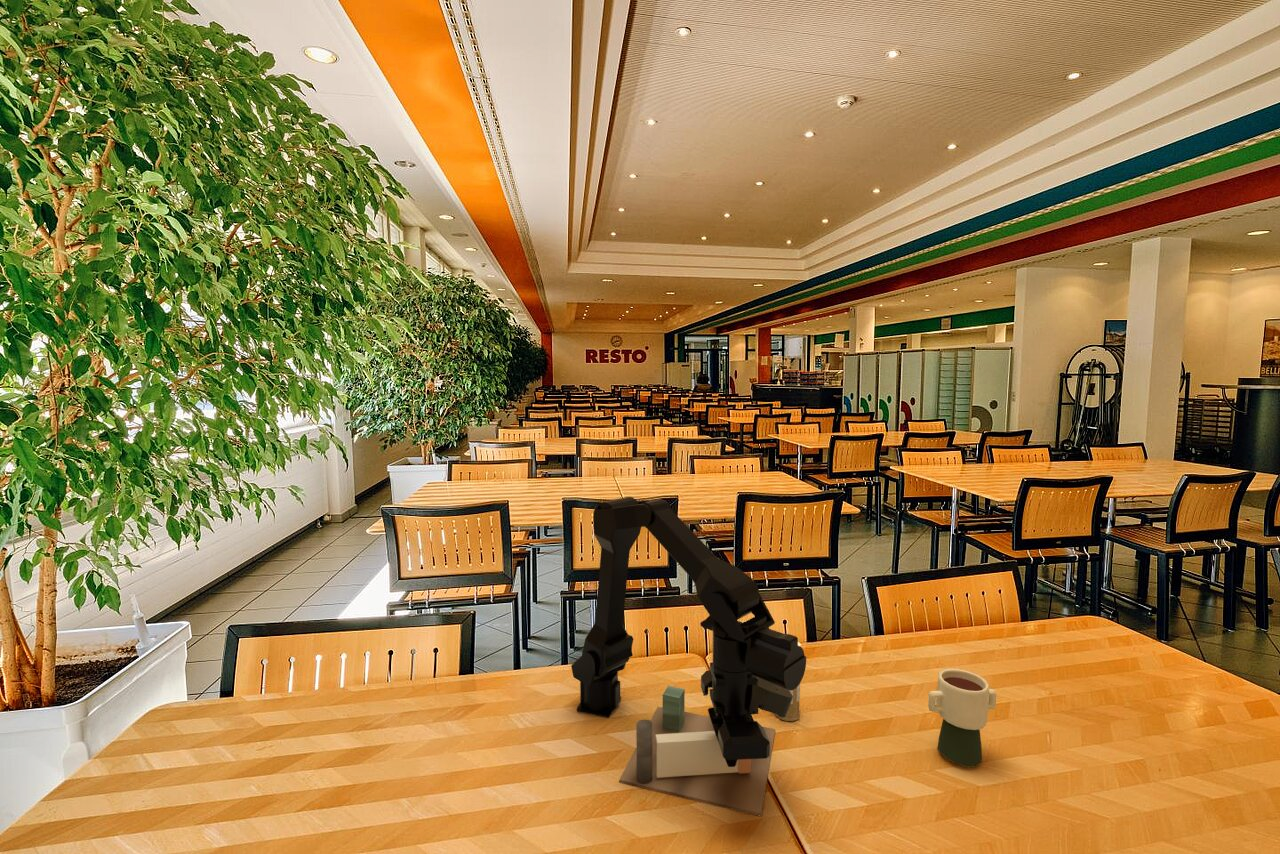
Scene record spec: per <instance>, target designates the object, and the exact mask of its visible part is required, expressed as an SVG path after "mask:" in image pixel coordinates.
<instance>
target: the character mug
mask: <svg viewBox="0 0 1280 854" xmlns="http://www.w3.org/2000/svg"><path fill="white" fill-rule="evenodd" d="M996 705H997V692H996V689H993V688H990V684H989V682H988V681H987V680H986V679H985V678H983V677H982V676H980V675H978V674H976V673H974V672H971V671H968V670H964V669H961V668H945V669H942V670H941V671H939V672H938V678H937V686H936V690H931V691H929V693H928V704H927V706H928V710H929V712H930V711H931V712H935V713H938V714H939V716H940V718H942V723H941V727H940V729H939V730H940V731H939V736H938V742H937V748H936V749H937V751H938V752H939V753H940V754H941V755H942V756H944V758H946V759H947V760H949V761H951V762H953V763H955V764H957V765H960V766H962V767H963V766H964V767H966V768H969V767H970V768H972V767H977V766H979V765H980V764H982V760H983V749H982V739H981V730H982V729H984V728H985V727H986V726H987V724H988V719H989V718H988V717H989V716H988V715H989V710H990V711H991V710H995V708H996V707H997V706H996Z"/></svg>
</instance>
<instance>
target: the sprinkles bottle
mask: <svg viewBox="0 0 1280 854" xmlns="http://www.w3.org/2000/svg"><path fill="white" fill-rule="evenodd" d="M798 646H800V647H802V644H801V643H800V642H799V641H798ZM789 691H790V692H791V694H792V696H793V698H792V701H791V704H790V706H789V709H788V711H787V714H786V717H784V718H782V717H779V716H778V715H777V714H774V716H775V717H776V718H778V719H780V720H781V721H785V722H794V721H797V720H798V719H799V718H800V716H801V713H800V699H801V683H800V684H799V685H798V687H797V688H796V689H794V690H789Z"/></svg>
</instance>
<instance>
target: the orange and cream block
mask: <svg viewBox="0 0 1280 854" xmlns="http://www.w3.org/2000/svg"><path fill="white" fill-rule="evenodd" d="M734 772H739V773H751V759H740V760H737V763H736V766H735V767H728V765H727V763H726V760H725V758H723V755H722V752H721V749H720V746H719V742H718V740H717V737H716V735H715V732H714V731H705V732H688V733H672V734H656V776H657V778H661V777H675V776H690V775H704V774H719V773H734Z"/></svg>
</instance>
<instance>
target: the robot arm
mask: <svg viewBox="0 0 1280 854" xmlns="http://www.w3.org/2000/svg"><path fill="white" fill-rule="evenodd" d="M592 518H593V519H592V521H593V522H592V523H593V535H594V537H595V539H596V541H597V542H598V544H599V546H600V561H599V573H598V584H597V594H596V595H597V596H596V597H597V598H596V607H595V617H594V618H595V620H594V623H593V625H592V627H591V629H590V630H589V631H588V633H587V634H586V636H585V638H584V643H583V648H582V652H581V653H582V654H581V656H580V657H578V659H576V660H575V662H573V663H572V664H571V666H570V667H571V671H572V675H573V678H574V679H576V680H577V681H579V682H580V684H579V687H580V689H579V690H580V693H579V695H580V697H579V698H580V701H579V702H580V703H579V704H578V706H577V707H576V711H577V712H579V713H583V714H588V715H593V716H598V717H604V718H610V717H611V716H612V714H613V713H614V711H615V710H616V709H617V708H618V706H619V704H620V703H621V700H622V696H621V681H620V680H619V676H618V675H619V672H620V671H623V670H625V667H626V664H627V663H628V662H629V660H630V658H632V657H633V656H634V655H633V643H634V637H633V635H630V634H629V633H628V632H627V629H626V628H625V626H624V617H625V616H624V615H625V614H624V613H625V605H626V604H625V603H626V593H627V585H628V584H627V582H628V574H629V572H628V570H629V563H630V562H629V561H630V552H631V549H632V547H633V545H634V544H635V542H636V541H637V540H638V539H639V538H638V537H639V536H640V533H641V530H642V527H643V528H646V529H647V530H648V531H649V533H651V535H652V536H653V537H654V538H655V539H656V541H657V542H658V543H659V544H660V545H661V546H662V547H663V548H664V549H665V550H666V552H667V553H668V554H669V555H670V556H671V557H672V558H673V559H674V561H675V562H676V563H677V564H678V566H680V567H681V568H682V569H683V571H684V573H686V574H687V575H688V576H689V577H690V578H691V580H692V582H693V583H694V585H695V591H696V596H697V598H698V600H699V601H700V603H701V605H702V606H703V608H704V609H705V610H706V612H707V614H708V616H707V617H706V618H705V619H704V620H702V621H700V623H699V624H700V627H701V628H704V629H707V630H709V631H712V662H709V670H706V671H704V672H703V673H702V674H701V676H700V688H701V691H702V694H703V695H702V696H706V697H707V696H708V695H709V698H710V701H711V705H712V707H708V708H707V713H708V716H710V719H711V722H712V725H713V729H714V732H715V735H716V737H717V740H718V742H719V746H720V749H721V752H722V755H723V758H725V760H726V763H727V765H728V767H735V766H736V763H737V760H740V759H764V758H768V757H769V756H770V742H769V739H768V737H767V735H766V733H765V731H764V728H763V727H764V726H762V725H761V724H760V723H759V722H758V721H757V720H754V717H753V715H759V710H762V711H763V712H764V711H765V712H767V713H771V714H774V715H775V714H777V715H778V716H779V717H782V718H784V717H786V714H787V711H788V709H789V706H790V704H791V701H792V698H793V696H792V694H791V692H790V691H789V690H794V689H796V688H797V687H798V685H799V684H800V685H801V682H802V680H803V678H804V676H805V672H806V667H807V656H806V655H805V651H804V649H803V647H802V646H801V647H800V646H798V642H799V638H798V637H797V636H796V635H793V634H790V633H782V632H780V631H777V630H773V629H771V628H770V627H772V626H774V625H775V623H776V621H775V619H774V618H773V615H772V614H771V612H770V610H769V607H767V605H766V603H765V601H764V600H763V598H762V596H761V593H759V591H760V588H759V586H758V584H757V583H756V581H755V580H754V579H753V578H752V577H750V575H748V574H746V572H744V570H741V569H740V568H739V567H737V566H736V565H734V564H732V563H729V562H726V561H724V560H722V559H720V558H719V557H718V556H716V555H715V554H714V553H713V551H711V549H710V548H708V547H707V545H706V544H705V543H704V542H703V541H702V540H701V539H700V538H699V537H698V536H697V535H696V534H695V533H694V532H693V531H692V530H691V529H690V528H689V526H687V525H686V523H685V522H684V521H683V520H682V519H681V518H680V517H679V516H678V515H677V514H676V513H675V512H674V511H673V510H672V507H671V505H670V504H669V502H668V501H667V500H665V499H662V498H659V499H654V500H653V499H651V500H650V499H649V500H640V501H639V500H637V499H636V498H634V497H633V496H626V497H619V498H615V499H610V500H606V501H602V502H600V503H598V505H596V506H595V507H594V510H593V517H592ZM750 614H752V615H753V617H751V618H749V619H748V620H746V621H744V622H742V621H739V620H740V619H741V618H744V617H745V616H747V615H750Z"/></svg>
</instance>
